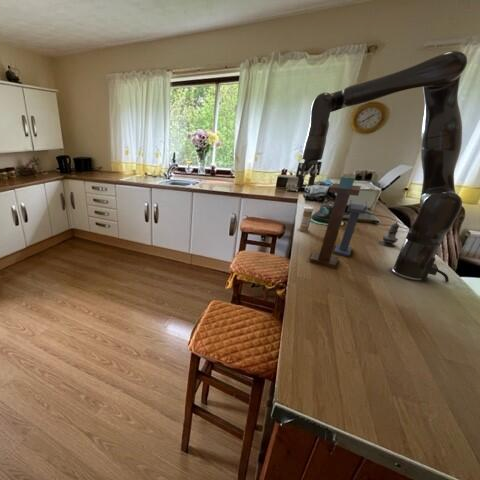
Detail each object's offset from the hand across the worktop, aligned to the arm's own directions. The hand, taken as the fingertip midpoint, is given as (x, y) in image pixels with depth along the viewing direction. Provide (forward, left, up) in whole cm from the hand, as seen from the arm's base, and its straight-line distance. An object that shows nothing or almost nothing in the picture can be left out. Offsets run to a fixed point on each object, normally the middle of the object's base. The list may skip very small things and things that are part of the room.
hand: (305, 186), depth 113 cm
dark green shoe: (-7, -55, -29) cm, 63 cm away
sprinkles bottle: (0, -26, -29) cm, 39 cm away
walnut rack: (-15, +10, -29) cm, 34 cm away
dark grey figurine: (-37, -31, -29) cm, 57 cm away
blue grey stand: (-20, -7, -29) cm, 36 cm away
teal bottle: (-15, +5, +3) cm, 16 cm away
